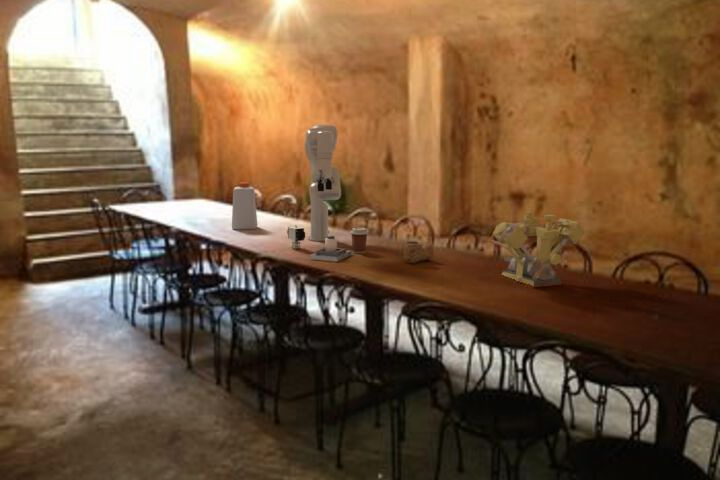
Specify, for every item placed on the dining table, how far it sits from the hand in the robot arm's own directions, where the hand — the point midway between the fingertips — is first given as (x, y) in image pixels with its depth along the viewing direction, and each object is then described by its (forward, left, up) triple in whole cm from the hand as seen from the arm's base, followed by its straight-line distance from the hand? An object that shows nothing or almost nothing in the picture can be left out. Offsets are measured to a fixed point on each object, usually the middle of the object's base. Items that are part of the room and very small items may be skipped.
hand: (324, 190), depth 311 cm
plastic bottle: (-40, -72, -31) cm, 88 cm away
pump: (+17, +11, -28) cm, 35 cm away
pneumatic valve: (+4, -14, -31) cm, 34 cm away
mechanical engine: (+27, +106, -31) cm, 114 cm away
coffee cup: (0, +19, -31) cm, 36 cm away
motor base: (+17, +11, -30) cm, 36 cm away
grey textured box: (+10, +53, -31) cm, 62 cm away
